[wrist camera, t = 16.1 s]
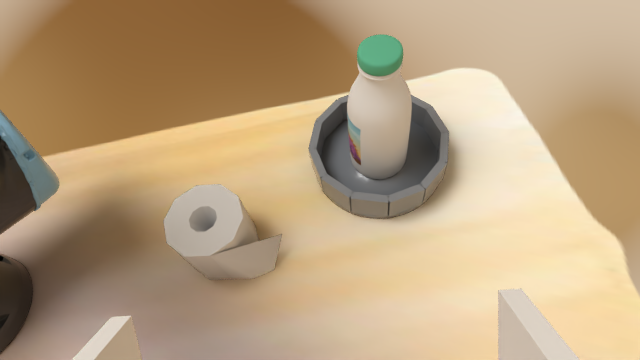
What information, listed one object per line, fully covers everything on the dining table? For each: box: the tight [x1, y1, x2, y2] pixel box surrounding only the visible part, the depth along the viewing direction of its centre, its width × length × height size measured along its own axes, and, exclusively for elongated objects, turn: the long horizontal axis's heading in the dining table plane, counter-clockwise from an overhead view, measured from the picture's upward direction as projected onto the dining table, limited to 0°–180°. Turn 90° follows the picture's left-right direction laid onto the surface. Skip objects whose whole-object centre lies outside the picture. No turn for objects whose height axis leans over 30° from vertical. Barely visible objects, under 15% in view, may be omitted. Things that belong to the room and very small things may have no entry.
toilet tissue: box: [164, 184, 282, 280], centre depth 53 cm, size 9×13×9 cm
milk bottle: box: [347, 35, 412, 179], centre depth 51 cm, size 8×8×20 cm
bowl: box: [309, 95, 449, 219], centre depth 58 cm, size 18×18×5 cm
